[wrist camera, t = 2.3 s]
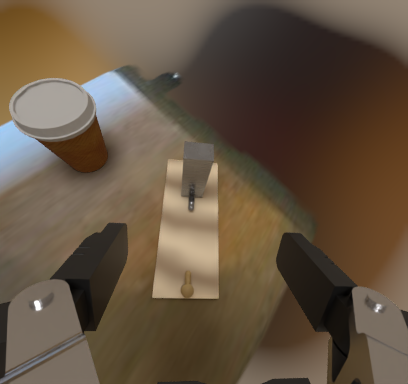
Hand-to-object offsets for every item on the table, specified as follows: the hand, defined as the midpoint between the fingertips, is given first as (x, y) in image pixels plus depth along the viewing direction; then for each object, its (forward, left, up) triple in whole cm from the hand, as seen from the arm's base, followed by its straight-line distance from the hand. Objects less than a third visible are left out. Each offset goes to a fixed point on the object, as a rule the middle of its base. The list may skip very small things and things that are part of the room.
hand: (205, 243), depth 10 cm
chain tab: (-11, +8, -20) cm, 24 cm away
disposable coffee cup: (-25, -5, -22) cm, 34 cm away
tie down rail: (-6, +4, -21) cm, 23 cm away
